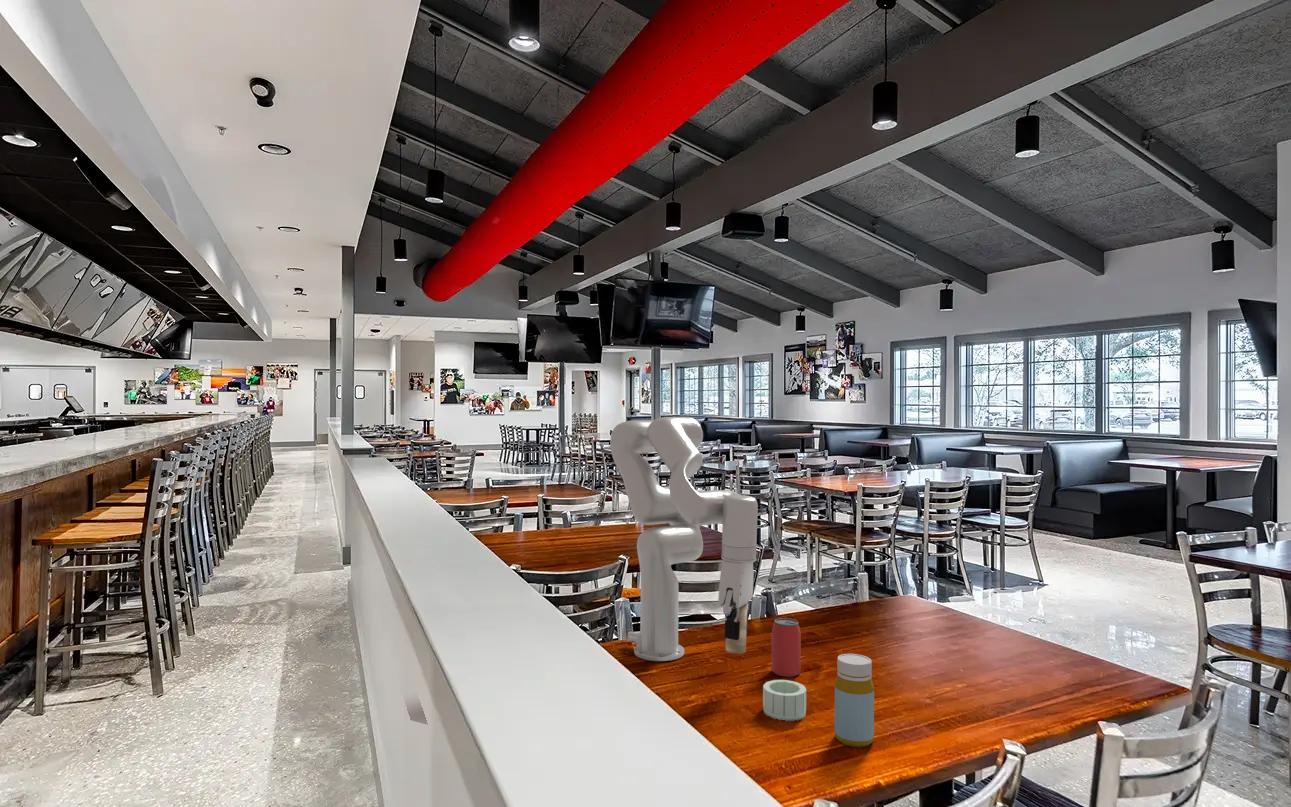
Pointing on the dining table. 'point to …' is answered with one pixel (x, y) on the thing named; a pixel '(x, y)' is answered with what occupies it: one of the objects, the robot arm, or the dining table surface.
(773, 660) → the beer can
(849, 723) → the bottle
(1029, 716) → the dining table surface
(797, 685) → the cup
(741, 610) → the plug
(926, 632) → the dining table surface
